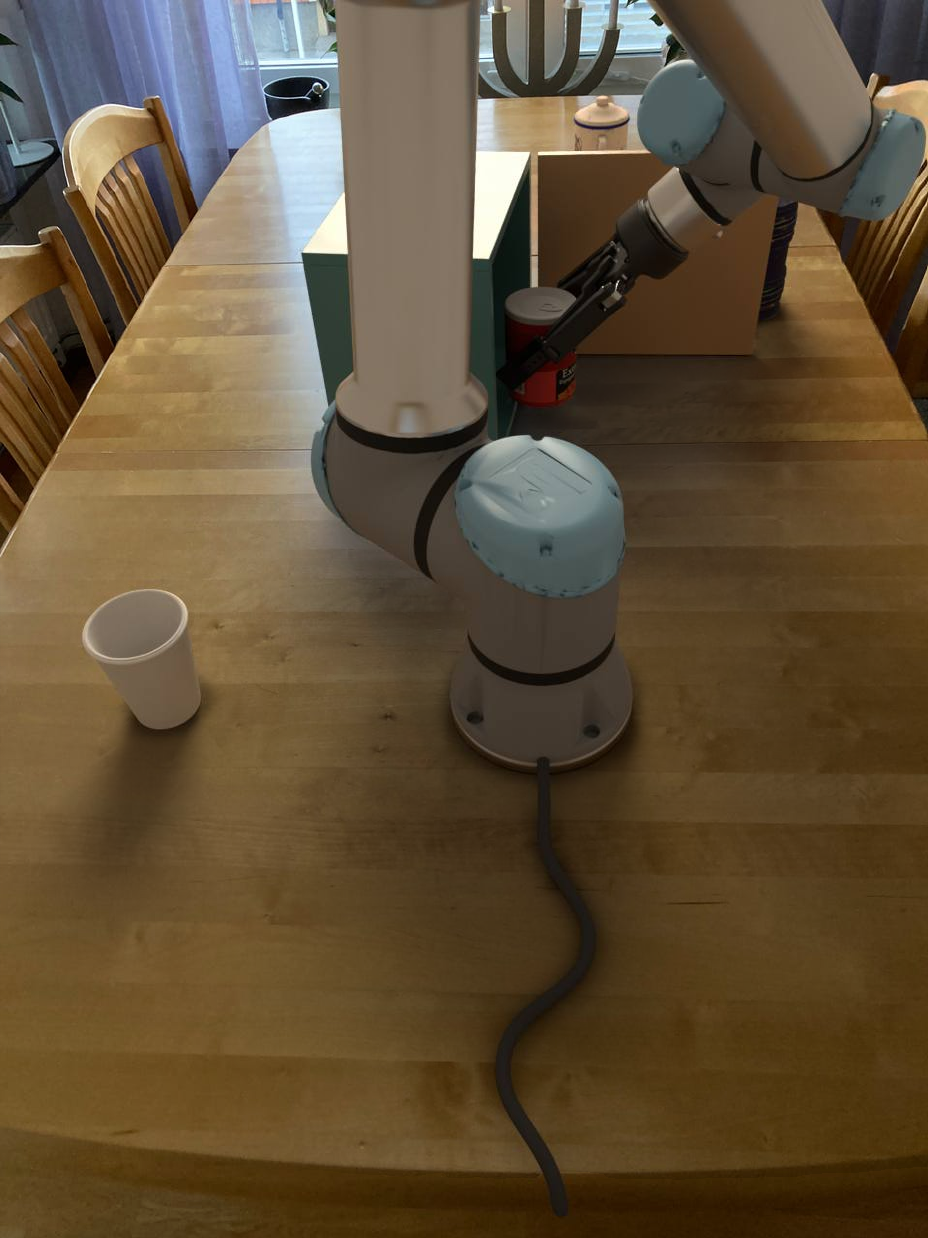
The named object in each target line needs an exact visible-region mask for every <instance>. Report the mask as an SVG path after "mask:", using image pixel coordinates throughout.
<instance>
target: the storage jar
mask: <svg viewBox="0 0 928 1238" xmlns="http://www.w3.org/2000/svg"><path fill="white" fill-rule="evenodd" d="M798 210H799V203H798V202H795V201H791V200H788V199H784V198H781V197H779V199H778V205H777V211H776V216H775V222H774V228H773V234H772V240H771V245H770V251H769V257H768V263H767V269H766V274H765V280H764V286H763V292H762V297H761V303H760V309H759V315H758V321H757V323H761V322H766V321H767V320H768V321H769V320H770V319H772V318H773V317H775V316H776V315H777V314H778V312H779V311H780V306H781V302H780V301H781V299H782V294H783V292H784V290H785V286H786V285H785V284H786V278H787V271H788V267H787V259H788V253H789V247H790V244H791V242H792V240H793V237H794V235H795V228H796V225H797V220H798Z"/></svg>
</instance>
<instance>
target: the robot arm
mask: <svg viewBox="0 0 928 1238" xmlns="http://www.w3.org/2000/svg"><path fill="white" fill-rule="evenodd" d="M482 1H483V0H334V15H335V36H336V38H335V39H336V54H337V57H336V58H337V76H338V93H339V95H338V96H339V111H340V112H339V113H340V130H341V131H340V133H341V152H342V153H341V154H342V169H343V188H344V190H343V192H345V211H346V230H347V249H348V268H349V288H350V307H351V326H352V345H353V364H354V371H353V372H352V373H351V374H350V375H349V376H348V377H347V378H346V379H345V380H344V381H343V382H342V383H341V384H340V385H339V387H338V389H337V391H336V397H335V400H334V401H333V402H332V404H331V405H330V406H329V407H328V406H327V408H326V410H325V411H324V413H323V415H322V416H321V420H322V422H323V423H324V424H323V426H322V428H321V429H318V430H315V433H314V434H313V435H314V436H313V439H312V443H311V450H310V470H311V476H312V481H313V484H314V488H315V490H316V493H317V494H318V497H319V498H320V500H321V501H322V503H323V504H324V506H325V507H326V508H327V510H328V511H330V513H332V514H333V515H334V516H335V517H337V518H338V519H339V520H341V522H342V523H343V524H344V525H345V527H347V528H348V529H350V530H351V531H352V532H353V533H355V534H356V535H359V536H361V537H363V538H364V539H365V540H367V541H370V542H371V543H373V544H375V545H376V546H377V547H379V548H380V549H382V550H384V551H385V552H387V553H388V554H390V555H392V556H393V557H395V558H396V559H398V560H400V561H401V562H403V563H404V564H406V565H407V566H409V567H411V568H412V569H414V570H415V571H417V572H418V573H420V574H421V575H423V576H425V577H426V578H428V579H430V580H432V581H433V582H434V583H436V584H437V585H439V586H440V587H442V588H443V589H445V590H447V591H448V592H450V593H451V594H452V595H454V596H455V597H457V598H458V599H460V601H461V602H462V603H463V605H464V608H465V619H466V630H467V631H466V633H467V635H466V639H465V641H464V643H463V645H462V649H461V650H460V653H459V656H458V659H457V662H456V664H455V666H454V669H453V672H452V676H451V682H450V691H449V697H450V709H451V716H452V718H453V722H454V725H455V726H456V729H457V731H458V733H459V735H460V736H461V737H462V739H463V740H464V742H466V743H467V744H468V745H469V747H471V749H472V750H473V751H475V752H476V753H477V754H479V755H480V756H482V757H483V758H484V759H486V760H488V761H490V762H491V763H493V764H496V765H498V766H500V767H503V768H506V769H508V770H513V771H516V772H523V773H529V774H536V777H537V779H536V780H537V817H536V818H537V820H536V833H537V834H536V835H537V836H536V837H537V844H538V848H539V852H540V855H541V858H542V861H543V864H544V865H545V866H544V867H545V868H546V870H547V872H548V873H549V875H550V877H551V879H552V880H553V882H554V883H555V885H556V887H557V888H558V889H559V891H560V892H561V893H562V895H563V896H564V898H565V899H566V900H567V902H568V903H569V905H570V906H571V908H572V909H573V911H574V913H575V915H576V918H577V920H578V923H579V926H580V933H581V944H580V948H579V952H578V956H577V958H576V960H575V962H574V964H573V965H572V966H571V968H570V970H569V971H568V972H567V973H566V974H565V975H563V977H562V978H561V979H560V980H559V981H557V982H556V983H555V984H554V985H553V986H551V987H550V988H549V989H547V990H546V991H544V992H543V993H542V994H541V995H540V996H538V997H536V998H535V999H534V1000H533V1001H531V1002H530V1003H529V1004H528V1005H527V1006H525V1007H524V1008H522V1010H520V1012H519V1013H518V1014H517V1015H516V1016H515V1017H514V1018H513V1019H512V1021H510V1023H509V1024H508V1026H507V1027H506V1028H505V1030H504V1031H503V1034H502V1036H501V1038H500V1041H499V1042H498V1047H497V1051H496V1056H495V1059H494V1060H495V1061H494V1062H495V1063H494V1077H495V1086H496V1089H497V1093H498V1096H499V1099H500V1101H501V1104H502V1106H503V1108H504V1110H505V1112H506V1113H507V1116H508V1117H509V1119H510V1121H511V1122H512V1124H513V1126H514V1127H515V1129H516V1130H517V1132H518V1133H519V1134H520V1136H521V1138H522V1140H523V1141H524V1143H525V1144H526V1146H527V1147H528V1149H529V1150H530V1152H531V1154H532V1155H533V1157H534V1159H535V1160H536V1162H537V1165H538V1166H539V1168H540V1171H541V1173H542V1175H543V1177H544V1180H545V1183H546V1186H547V1190H548V1194H549V1199H550V1205H551V1209H552V1212H553V1214H554V1215H555V1217H557V1218H559V1219H560V1218H561V1219H563V1218H565V1217H566V1216H567V1215H568V1213H569V1209H570V1207H569V1206H570V1205H569V1201H568V1196H567V1192H566V1187H565V1184H564V1181H563V1178H562V1174H561V1171H560V1168H559V1167H558V1164H557V1162H556V1160H555V1158H554V1156H553V1154H552V1153H551V1150H550V1149H549V1147H548V1145H547V1143H546V1142H545V1141H544V1139H543V1137H542V1135H541V1134H540V1132H539V1131H538V1129H537V1127H536V1126H534V1124H533V1122H532V1121H531V1119H530V1118H529V1116H528V1114H527V1113H526V1111H525V1109H524V1108H523V1107H522V1105H521V1102H520V1101H519V1099H518V1097H517V1094H516V1092H515V1089H514V1085H513V1081H512V1073H511V1069H512V1058H513V1053H514V1049H515V1047H516V1045H517V1042H518V1040H519V1039H520V1037H521V1035H522V1034H523V1033H524V1031H525V1030H526V1029H527V1028H528V1027H529V1026H530V1025H531V1023H533V1022H534V1021H535V1020H536V1019H537V1018H539V1017H540V1016H541V1015H542V1014H544V1013H545V1012H546V1011H547V1010H549V1009H551V1007H552V1006H554V1005H555V1004H556V1003H558V1002H559V1001H561V1000H562V999H564V997H566V995H568V994H569V993H570V992H572V990H573V989H574V988H575V987H576V986H577V985H578V984H580V982H581V981H582V980H583V978H584V977H585V975H586V974H587V973H588V972H589V969H590V967H591V965H592V963H593V960H594V956H595V952H596V947H597V934H596V927H595V923H594V922H595V921H594V919H593V916H592V914H591V912H590V909H589V907H588V906H587V904H586V902H585V901H584V899H583V897H582V895H581V894H580V893H579V891H578V890H577V888H576V887H575V886H574V884H573V883H572V882H571V881H570V879H569V878H568V876H567V874H566V873H565V872H564V870H563V869H562V867H561V865H560V863H559V862H558V859H557V857H556V854H555V851H554V847H553V844H552V837H551V810H552V807H551V806H552V805H551V804H552V802H551V799H552V798H551V776H550V775H551V774H556V773H562V772H564V773H565V772H567V771H571V770H575V769H579V768H582V767H585V766H586V765H589V764H591V763H593V762H595V761H596V760H599V759H600V758H602V757H603V756H604V755H606V754H607V753H608V752H609V751H610V750H612V749H613V747H615V746H616V745H617V744H618V743H619V741H620V740H621V739H622V738H623V735H624V734H625V732H626V730H627V728H628V726H629V724H630V720H631V716H632V710H633V699H634V692H633V683H632V677H631V673H630V670H629V668H628V665H627V663H626V660H625V657H624V655H623V652H622V650H621V646H620V644H619V642H618V639H617V637H616V631H617V623H618V621H617V620H618V610H619V599H620V598H619V597H620V586H621V577H622V575H621V574H622V566H623V565H622V563H623V560H624V557H625V553H626V544H627V539H626V532H625V531H626V526H625V521H624V520H625V519H624V516H625V515H624V513H625V512H624V510H625V509H624V508H625V507H624V501H623V496H622V493H621V490H620V487H619V485H618V483H617V481H616V479H615V477H614V476H613V475H612V472H611V471H610V470H609V469H608V468H607V466H605V464H604V463H603V462H601V460H599V459H598V458H597V457H596V456H594V455H593V454H591V453H590V452H589V451H587V449H586V450H585V449H584V448H582V447H580V446H578V445H576V444H574V443H571V442H570V441H567V440H564V439H560V438H557V437H551V436H546V435H545V436H543V437H542V438H541V439H540V440H535V439H533V437H532V436H531V435H530V434H522V435H512V436H509V437H506V438H502V439H499V440H496V441H492V440H490V439H489V437H488V433H487V426H488V392H487V390H486V388H485V386H484V385H483V384H482V383H481V382H480V381H479V380H478V379H477V378H476V377H475V376H474V375H473V374H472V373H470V372H469V370H470V338H471V305H472V273H473V240H474V207H475V175H476V151H477V141H478V140H477V139H478V138H477V137H478V110H479V109H478V106H479V74H480V73H479V71H480V45H481V43H480V40H481V39H480V38H481V11H482V9H481V8H482V7H481V6H482ZM645 1H646V2H647V4H648V5H649V6H650V7H651V9H652V10H653V11H654V12H655V14H656V15H657V16H658V17H659V19H660V20H661V21H662V23H663V25H665V26H666V28H667V29H668V30H669V31H670V33H671V34H672V35H673V37H674V38H675V39H676V41H677V42H678V43H679V44H680V46H681V47H682V48H683V49H684V51H685V52H686V53H687V54H688V56H689V57H690V58H691V59H688V58H687V59H680V60H677V61H674V62H672V63H669V64H667V65H666V66H664V67H663V68H661V69H660V70H659V71H658V72H657V73H656V74H655V75H654V76H653V77H652V78H651V80H650V81H649V82H648V84H647V85H646V87H645V89H644V91H643V93H642V96H641V98H640V100H639V105H638V108H637V113H636V128H637V133H638V136H639V139H640V142H641V143H642V145H643V147H644V148H645V150H648V151H649V152H650V153H652V154H653V155H655V156H656V157H657V158H659V159H660V160H661V161H662V163H663V164H665V165H667V166H670V165H672V166H674V167H673V168H672V169H671V170H670V171H669V172H668V173H667V174H666V175H665V176H664V177H662V178H661V179H660V180H659V181H658V182H657V183H656V184H655V185H654V186H653V187H651V188H650V189H649V191H648V197H645V198H640V199H639V200H638V201H637V202H636V203H635V204H634V205H633V206H631V207H630V208H629V209H628V210H627V211H626V212H625V213H624V214H623V215H622V216H620V217H619V219H618V220H617V222H616V232H615V234H614V235H613V236H612V237H611V238H610V239H609V240H608V241H607V242H606V243H605V244H604V245H603V246H601V247H600V248H599V249H598V250H596V251H595V252H594V253H593V254H592V255H590V256H589V257H588V258H587V259H586V260H584V261H583V262H582V263H581V264H580V265H578V266H577V267H576V268H575V269H574V270H572V271H571V272H570V273H569V274H567V275H566V276H565V277H564V278H563V279H561V280H560V281H559V282H558V283H557V287H558V289H562V290H564V291H567V292H569V293H571V294H572V295H573V296H575V298H576V300H575V301H574V303H573V304H572V305H571V306H570V307H569V308H568V309H567V310H566V311H565V312H564V313H563V314H562V315H561V316H560V318H559V319H558V320H557V321H556V322H555V323H554V324H553V325H552V326H551V327H550V328H549V329H548V330H547V332H546V333H545V334H544V335H543V336H542V337H539V336H538V335H537V334H536V333H535V334H534V336H533V337H532V339H533V340H532V341H531V342H530V343H529V344H528V345H527V346H525V347H524V348H523V349H522V350H521V351H520V352H519V353H517V354H516V355H515V356H514V357H513V358H512V359H511V360H509V361H508V362H507V363H506V364H505V365H504V366H503V367H501V368H500V369H499V370H498V371H497V372H496V377H497V378H498V379H499V380H500V381H501V382H502V383H503V384H505V385H506V386H507V387H508V388H509V389H510V390H511V391H512V392H513V391H514V390H515V389H517V388H518V387H519V386H520V385H521V384H522V383H524V382H525V381H526V380H527V379H528V378H530V377H531V376H532V375H533V374H534V373H536V372H537V371H538V370H539V369H540V368H542V367H543V366H544V365H545V364H546V363H547V362H549V361H550V360H552V361H553V362H554V363H555V364H558V363H559V362H561V361H562V359H563V358H565V357H566V356H567V355H568V354H569V353H570V352H571V351H572V350H573V349H574V348H575V347H577V346H578V345H579V344H580V343H581V342H582V341H583V340H584V339H585V338H586V337H587V336H589V335H590V334H591V333H592V332H593V331H594V330H595V329H596V328H597V327H598V326H599V325H601V324H602V323H603V322H604V321H605V320H606V319H607V318H608V317H609V316H611V315H612V314H613V313H615V312H616V311H617V310H619V309H620V308H622V307H623V306H624V305H625V304H626V302H627V299H626V298H625V297H624V296H623V295H625V294H627V293H628V292H629V291H630V290H631V289H632V288H633V287H634V285H635V283H636V282H635V280H636V279H637V278H638V277H639V276H640V275H647V276H650V277H651V278H653V279H656V280H661V279H664V278H665V277H666V276H668V275H669V274H670V273H671V272H672V271H674V270H675V269H676V268H677V267H678V266H680V265H681V264H682V263H683V262H685V261H686V260H687V258H688V255H689V252H696V251H697V250H698V249H699V248H701V247H702V246H703V245H704V244H705V243H707V242H708V241H709V240H710V239H711V238H712V237H713V238H715V239H719V238H720V237H721V236H722V234H723V233H722V229H723V228H725V227H726V226H728V225H729V224H730V223H731V222H732V221H733V220H734V219H735V218H736V217H738V216H739V215H740V214H741V213H743V212H744V211H745V210H746V209H748V208H749V207H750V206H751V205H753V204H754V203H755V202H756V201H758V200H759V199H760V198H761V197H763V196H764V195H765V194H770V195H774V196H777V197H781V198H784V199H788V200H791V201H795V202H798V204H802V205H805V206H809V207H812V208H816V209H819V210H823V211H826V212H830V213H833V214H837V215H838V216H839V217H841V218H844V217H845V218H846V217H852V218H856V219H860V220H866V221H870V222H879V221H883V220H886V219H888V218H889V217H890V216H892V215H893V214H894V213H895V212H896V211H897V210H899V208H900V207H901V206H902V204H903V203H904V202H905V200H906V199H907V197H908V195H909V194H910V192H911V190H912V188H913V186H914V184H915V182H916V180H917V178H918V176H919V173H920V170H921V168H922V165H923V161H924V157H925V152H926V146H927V133H926V128H925V125H924V123H923V122H922V120H921V119H919V118H918V117H916V116H912V115H910V114H906V113H902V112H899V111H898V109H896V108H892V107H891V108H890V109H888V108H887V109H886V108H880V107H878V106H876V105H875V103H874V101H873V100H872V98H871V96H870V94H869V91H868V89H867V88H866V85H865V83H864V82H863V79H862V78H861V75H860V73H859V72H858V70H857V68H856V66H855V64H854V62H853V60H852V58H851V56H850V54H849V52H848V50H847V48H846V46H845V44H844V42H843V41H842V38H841V36H840V34H839V32H838V30H837V29H836V27H835V24H834V22H833V20H832V19H831V17H830V14H829V13H828V11H827V9H826V7H825V5H824V3H823V1H822V0H645Z"/></svg>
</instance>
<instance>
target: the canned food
mask: <svg viewBox="0 0 928 1238" xmlns="http://www.w3.org/2000/svg"><path fill="white" fill-rule="evenodd" d="M575 300H576V298H575V296H573V295H572V294H571V293H569V292H567V291H564V290H562V289H558V288H552V287H538V286H532V288H526V289H522V290H519V291H516V292H514V293H513V294H511V295H510V296H508V298H507V299H506V301H505V307H504V313H505V316H504V320H505V350H506V363H507V362H508V361H509V360H511V359H512V358H513V357H514V356H515V355H516V354H517V353H519V352H520V351H521V350H522V349H523V348H524V347H525V346H527V345H528V344H529V343H530V342H531V341H532V340H533V339H532V337H533V336H534V334H535V333H536V334H537V335H538V336H539V337H542V336H543V335H544V334H545V333H546V332H547V330H548V329H549V328H550V327H551V326H552V325H553V324H554V323H555V322H556V321H557V320H558V319H559V318H560V316H561V315H562V314H563V313H564V312H565V311H566V310H567V309H568V308H569V307H570V306H571V305H572V304H573V303H574V301H575ZM577 357H578V354H577V347H575V348H574V349H573V350H572V351H571V352H570V353H569V354H568V355H567V356H566V357H565V358H563V359H562V361H561V362H559V363H558V364H555V363H554V362H553V361H552V360H550V361H549V362H547V363H546V364H545V365H544V366H543V367H542V368H540V369H539V370H538V371H537V372H536V373H534V374H533V375H532V376H531V377H530V378H528V379H527V380H526V381H525V382H524V383H522V384H521V385H520V386H519V387H518V388H517V389H515V390H514V391H513V392H512V391H511V390H510V389H509V388H508V387H507V389H508V392H509V394H510V396H511V398H512V399H513V400H514V401H516V402H517V403H518V404H519V405H522V406H524V407H528V408H533V409H549V408H554V407H557V406H561V405H563V404H565V403H566V402H568V401H569V400H570V399H571V398H572V396H573V395H574V392H575V389H576V387H577V383H576V382H577Z"/></svg>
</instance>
